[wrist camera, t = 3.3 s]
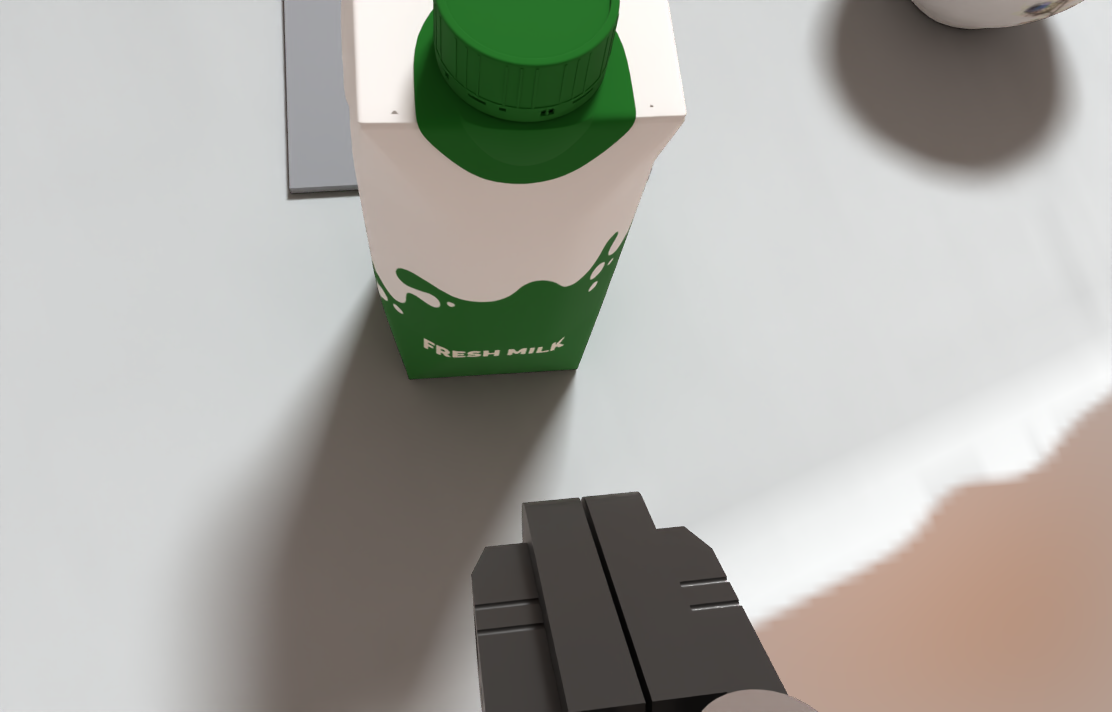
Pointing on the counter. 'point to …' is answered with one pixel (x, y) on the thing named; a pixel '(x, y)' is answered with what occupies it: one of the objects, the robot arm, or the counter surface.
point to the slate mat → (317, 99)
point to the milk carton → (503, 167)
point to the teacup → (991, 11)
